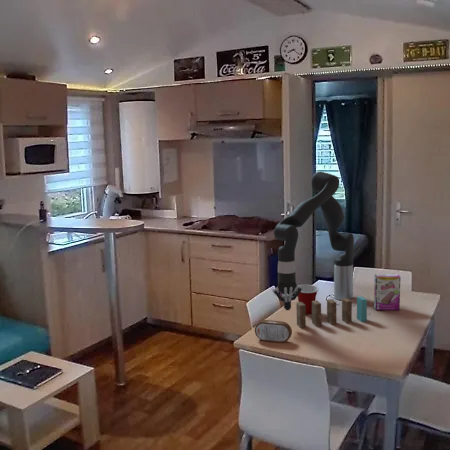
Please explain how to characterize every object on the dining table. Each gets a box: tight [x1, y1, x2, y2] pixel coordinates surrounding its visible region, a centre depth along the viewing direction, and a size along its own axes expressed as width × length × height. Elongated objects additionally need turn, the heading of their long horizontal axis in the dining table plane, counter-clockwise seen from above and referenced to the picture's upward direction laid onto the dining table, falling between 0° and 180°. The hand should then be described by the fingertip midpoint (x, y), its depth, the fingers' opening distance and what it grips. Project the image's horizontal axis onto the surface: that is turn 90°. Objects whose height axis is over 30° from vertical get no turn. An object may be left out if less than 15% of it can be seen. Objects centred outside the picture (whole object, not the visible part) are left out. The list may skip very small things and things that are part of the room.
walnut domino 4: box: [341, 298, 353, 324], centre depth 248 cm, size 2×5×10 cm, turn 11°
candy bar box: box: [373, 273, 401, 311], centre depth 262 cm, size 11×5×16 cm, turn 84°
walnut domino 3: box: [326, 298, 338, 326], centre depth 246 cm, size 2×5×10 cm, turn 10°
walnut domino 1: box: [296, 301, 307, 329], centre depth 244 cm, size 2×5×10 cm, turn 11°
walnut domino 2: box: [311, 300, 322, 327], centre depth 245 cm, size 2×5×10 cm, turn 11°
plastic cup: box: [297, 284, 319, 315], centre depth 262 cm, size 11×11×12 cm
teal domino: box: [356, 296, 368, 323], centre depth 249 cm, size 2×5×10 cm, turn 11°
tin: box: [254, 319, 293, 343], centre depth 227 cm, size 15×3×8 cm, turn 71°
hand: (287, 309), depth 243 cm, fingers closed
